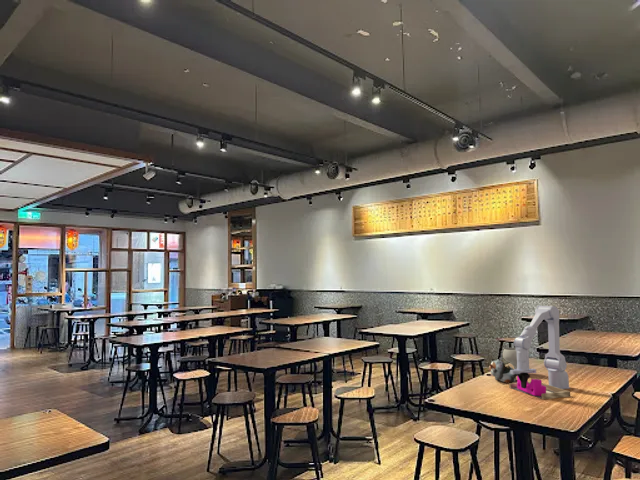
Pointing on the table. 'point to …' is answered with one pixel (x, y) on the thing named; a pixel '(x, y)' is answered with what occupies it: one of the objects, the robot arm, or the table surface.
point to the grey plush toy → (502, 371)
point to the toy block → (532, 387)
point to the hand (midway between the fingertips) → (523, 388)
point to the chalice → (510, 356)
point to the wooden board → (550, 391)
